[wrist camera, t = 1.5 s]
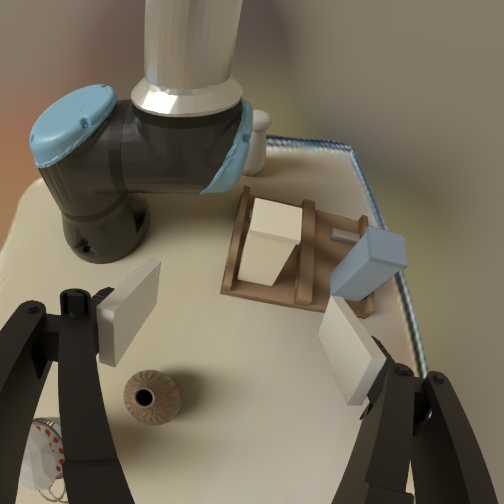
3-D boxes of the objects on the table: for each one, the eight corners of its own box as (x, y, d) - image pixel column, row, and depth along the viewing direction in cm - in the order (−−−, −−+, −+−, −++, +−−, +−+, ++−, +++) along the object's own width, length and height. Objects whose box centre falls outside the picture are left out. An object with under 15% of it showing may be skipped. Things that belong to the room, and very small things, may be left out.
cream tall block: (272, 287, 41) (300, 240, 30) (235, 280, 40) (249, 229, 29) (276, 260, 43) (302, 208, 32) (240, 253, 42) (255, 197, 32)
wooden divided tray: (364, 318, 42) (375, 311, 39) (219, 293, 41) (221, 284, 38) (360, 227, 51) (368, 216, 48) (240, 198, 50) (243, 185, 47)
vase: (127, 377, 32) (106, 370, 25) (175, 368, 34) (168, 360, 27) (139, 426, 30) (121, 433, 22) (189, 417, 31) (185, 423, 24)
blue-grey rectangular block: (360, 303, 42) (408, 265, 31) (328, 297, 41) (371, 257, 30) (359, 277, 44) (403, 235, 33) (329, 271, 43) (368, 225, 32)
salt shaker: (257, 157, 56) (270, 105, 45) (266, 177, 54) (283, 123, 42) (229, 160, 54) (238, 105, 43) (237, 181, 52) (248, 124, 41)
